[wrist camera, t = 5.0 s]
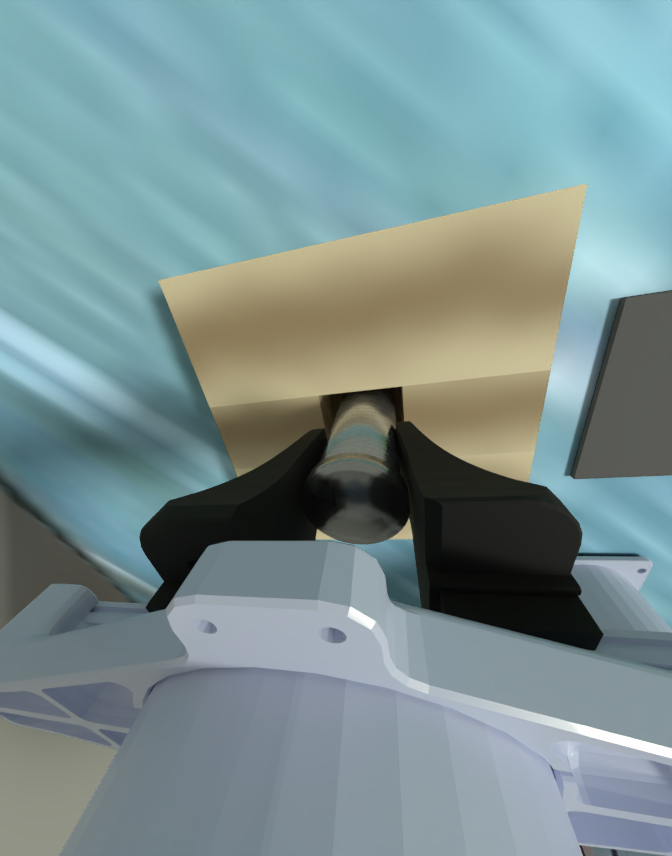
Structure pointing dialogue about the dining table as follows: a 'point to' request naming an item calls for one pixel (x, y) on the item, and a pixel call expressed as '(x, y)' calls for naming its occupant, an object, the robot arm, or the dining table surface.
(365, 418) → the pin
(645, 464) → the mat
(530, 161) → the dining table surface
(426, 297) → the socket block
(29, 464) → the dining table surface
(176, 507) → the robot arm
